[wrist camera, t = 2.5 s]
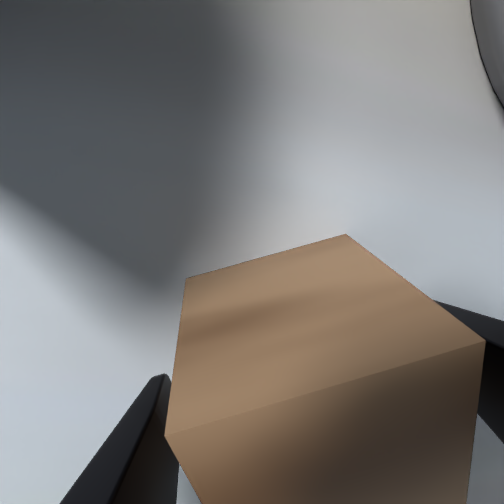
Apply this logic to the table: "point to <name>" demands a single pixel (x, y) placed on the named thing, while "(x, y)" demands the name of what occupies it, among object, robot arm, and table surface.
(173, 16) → the table surface
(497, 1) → the slate plate
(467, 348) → the walnut cube
